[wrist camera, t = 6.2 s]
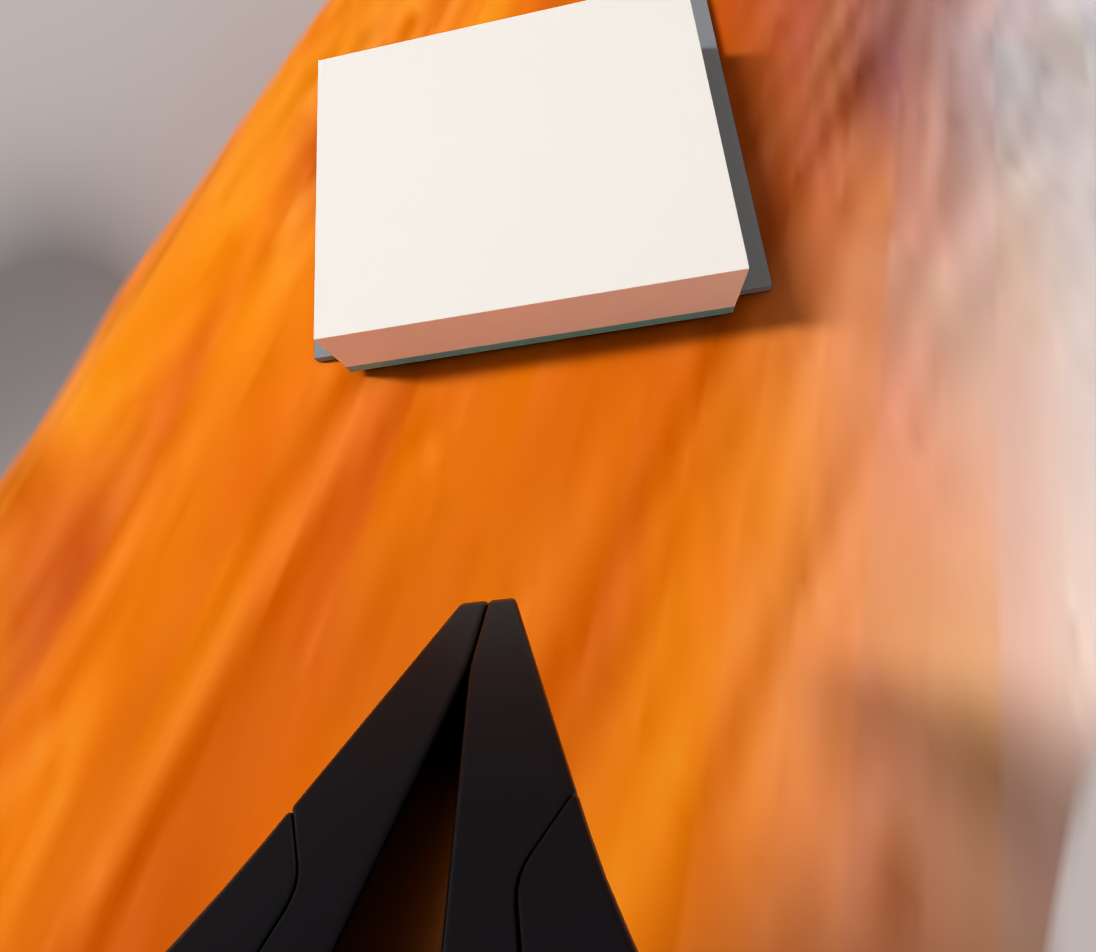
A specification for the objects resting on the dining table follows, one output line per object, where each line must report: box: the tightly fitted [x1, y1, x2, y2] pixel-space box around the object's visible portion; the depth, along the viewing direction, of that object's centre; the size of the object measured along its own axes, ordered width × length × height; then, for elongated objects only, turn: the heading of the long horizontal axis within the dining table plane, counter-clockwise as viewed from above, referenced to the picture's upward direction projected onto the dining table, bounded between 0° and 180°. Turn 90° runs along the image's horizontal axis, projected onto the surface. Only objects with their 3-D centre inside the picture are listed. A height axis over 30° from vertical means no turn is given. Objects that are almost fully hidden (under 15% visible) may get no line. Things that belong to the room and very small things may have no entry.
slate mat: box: [314, 0, 772, 362], centre depth 21 cm, size 14×17×1 cm
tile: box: [314, 0, 749, 372], centre depth 19 cm, size 2×14×12 cm
